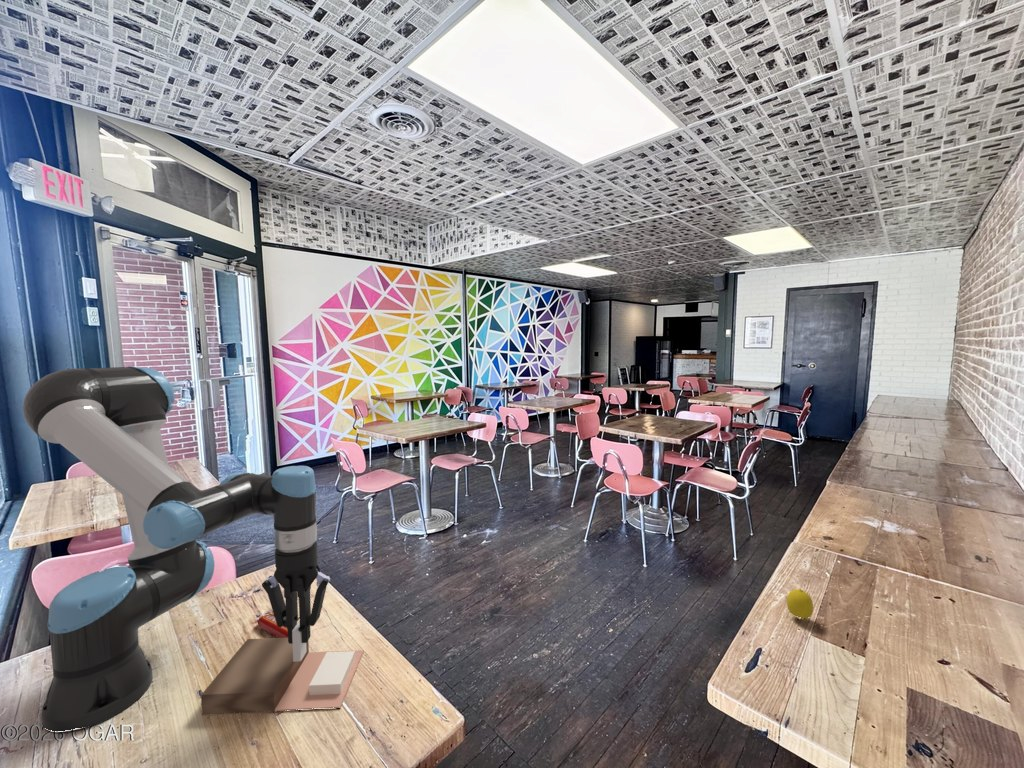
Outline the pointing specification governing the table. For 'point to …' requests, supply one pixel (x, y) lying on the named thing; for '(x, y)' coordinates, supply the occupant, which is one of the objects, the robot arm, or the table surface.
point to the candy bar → (272, 626)
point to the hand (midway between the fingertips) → (300, 656)
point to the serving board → (253, 678)
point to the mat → (299, 685)
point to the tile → (332, 673)
